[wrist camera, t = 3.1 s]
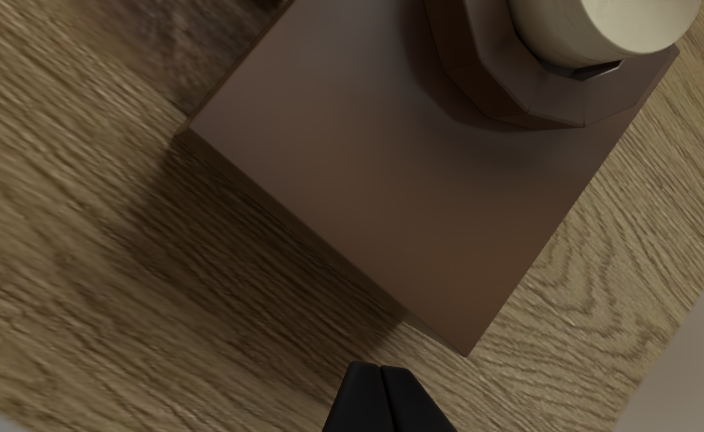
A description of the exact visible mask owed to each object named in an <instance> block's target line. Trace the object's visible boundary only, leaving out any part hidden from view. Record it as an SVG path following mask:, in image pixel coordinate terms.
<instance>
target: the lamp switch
mask: <svg viewBox="0 0 704 432" xmlns="http://www.w3.org/2000/svg"><path fill="white" fill-rule="evenodd" d="M701 2H702V0H507V3H508V8H509V11H510V15H511V19H512V22H513V24H514V26H515V28H516V31H517V32H518V34H519V36H520V37H521V39H522V40H523V42H524V43H525V44H526V46H527V47H528V48H529V49H530V50H531V51H532V52H533V53H534V54H535V55H536V56H538V57H539V58H540V59H542V60H543V61H545V62H547V63H549V64H551V65H554V66H556V67H561V68H566V69H576V68H583V67H588V66H593V65H598V64H602V63H607V62H612V61H617V60H622V59H627V58H632V57H637V56H642V55H647V54H651V53H655V52H658V51H661V50H663V49H665V48H667V47H669V46H670V45H672V44H673V43H674V42H676V41H677V40H678V39H679V38H680V37H681V36H682V35H683V34H684V33H685V32H686V31H687V29H688V28H689V27H690V25H691V24H692V22H693V20H694V19H695V17H696V15H697V12H698V10H699V8H700V5H701Z"/></svg>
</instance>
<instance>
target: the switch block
mask: <svg viewBox="0 0 704 432" xmlns="http://www.w3.org/2000/svg"><path fill="white" fill-rule="evenodd" d="M679 53H680V50H679V49H678V48H677V46H676V45H675V44H674V43H673V44H672V45H670V46H669V47H667V48H665V49H663V50H661V51H658V52H655V53H651V54H647V55H642V56H637V57H632V58H627V59H622V60H617V61H612V62H607V63H602V64H598V65H593V66H588V67H583V68H576V69H566V68H561V67H556V66H554V65H551V64H549V63H547V62H545V61H543V60H542V59H540V58H539V57H538V56H536V55H535V54H534V53H533V52H532V51H531V50H530V49H529V48H528V47H527V46H526V44H525V43H524V42H523V40H522V39H521V37H520V36H519V34H518V32H517V31H516V28H515V26H514V24H513V22H512V19H511V15H510V11H509V8H508V3H507V0H288V1H287V2H286V4H285V5H284V6H283V7H282V8H281V9H280V11H279V12H278V13H277V14H276V15H275V16H274V18H273V19H272V20H271V21H270V22H269V23H268V25H267V26H266V27H265V28H264V29H263V30H262V32H261V33H260V34H259V35H258V36H257V37H256V39H255V40H254V41H253V42H252V43H251V44H250V46H249V47H248V48H247V49H246V50H245V51H244V53H243V54H242V55H241V56H240V57H239V58H238V60H237V61H236V62H235V63H234V64H233V65H232V67H231V68H230V69H229V70H228V71H227V72H226V74H225V75H224V76H223V77H222V78H221V79H220V81H219V82H218V83H217V84H216V85H215V86H214V88H213V89H212V90H211V91H210V92H209V93H208V95H207V96H206V97H205V98H204V99H203V100H202V102H201V103H200V104H199V105H198V106H197V107H196V109H195V110H194V111H193V112H192V113H191V114H190V116H189V117H188V118H187V119H186V120H185V121H184V123H183V124H182V125H181V126H180V127H179V128H178V130H177V131H176V132H175V134H174V135H175V136H176V137H177V138H178V139H179V140H180V141H182V142H183V143H184V144H185V145H187V146H188V147H189V148H190V149H192V150H193V151H194V152H195V153H197V154H198V155H199V156H200V157H201V158H203V159H204V160H205V161H206V162H208V163H209V164H210V165H211V166H213V167H214V168H215V169H216V170H217V171H219V172H220V173H221V174H222V175H224V176H225V177H226V178H227V179H229V180H230V181H231V182H232V183H233V184H235V185H236V186H237V187H238V188H240V189H241V190H242V191H243V192H245V193H246V194H247V195H248V196H249V197H251V198H252V199H253V200H254V201H256V202H257V203H258V204H259V205H261V206H262V207H263V208H264V209H265V210H267V211H268V212H269V213H270V214H272V215H273V216H274V217H275V218H277V219H278V220H279V221H280V222H281V223H283V224H284V225H285V226H286V227H288V228H289V229H290V230H291V231H293V232H294V233H295V234H296V235H297V236H299V237H300V238H301V239H302V240H304V241H305V242H306V243H307V244H309V245H310V246H311V247H312V248H313V249H315V250H316V251H317V252H318V253H320V254H321V255H322V256H323V257H325V258H326V259H327V260H328V261H329V262H331V263H332V264H333V265H334V266H336V267H337V268H338V269H339V270H341V271H342V272H343V273H344V274H345V275H347V276H348V277H349V278H350V279H352V280H353V281H354V282H355V283H357V284H358V285H359V286H360V287H361V288H363V289H364V290H365V291H366V292H368V293H369V294H370V295H371V296H373V297H374V298H375V299H376V300H377V301H379V302H380V303H381V304H382V305H384V306H385V307H386V308H387V309H389V310H390V311H391V312H392V313H394V314H395V315H396V316H397V317H398V318H400V319H401V320H402V321H404V322H405V323H407V324H409V325H410V326H412V327H414V328H415V329H417V330H419V331H421V332H422V333H424V334H426V335H427V336H429V337H431V338H432V339H434V340H436V341H437V342H439V343H441V344H442V345H444V346H446V347H447V348H449V349H451V350H452V351H454V352H456V353H458V354H459V355H461V356H463V357H465V358H466V357H468V355H469V354H470V352H471V351H472V349H473V348H474V347H475V345H476V344H477V342H478V341H479V339H480V338H481V337H482V335H483V334H484V332H485V331H486V329H487V328H488V327H489V325H490V324H491V322H492V321H493V319H494V318H495V317H496V315H497V314H498V312H499V311H500V309H501V308H502V306H503V305H504V304H505V302H506V301H507V299H508V298H509V296H510V295H511V294H512V292H513V291H514V289H515V288H516V286H517V285H518V284H519V282H520V281H521V279H522V278H523V276H524V275H525V274H526V272H527V271H528V269H529V268H530V266H531V265H532V264H533V262H534V261H535V259H536V258H537V256H538V255H539V254H540V252H541V251H542V249H543V248H544V246H545V245H546V243H547V242H548V241H549V239H550V238H551V236H552V235H553V233H554V232H555V231H556V229H557V228H558V226H559V225H560V223H561V222H562V221H563V219H564V218H565V216H566V215H567V213H568V212H569V211H570V209H571V208H572V206H573V205H574V203H575V202H576V201H577V199H578V198H579V196H580V195H581V193H582V192H583V191H584V189H585V188H586V186H587V185H588V183H589V182H590V180H591V179H592V178H593V176H594V175H595V173H596V172H597V170H598V169H599V168H600V166H601V165H602V163H603V162H604V160H605V159H606V158H607V156H608V155H609V153H610V152H611V150H612V149H613V148H614V146H615V145H616V143H617V142H618V140H619V139H620V138H621V136H622V135H623V133H624V132H625V130H626V129H627V128H628V126H629V125H630V123H631V122H632V120H633V119H634V117H635V116H636V115H637V113H638V112H639V110H640V109H641V107H642V106H643V105H644V103H645V102H646V100H647V99H648V97H649V96H650V95H651V93H652V92H653V90H654V89H655V87H656V86H657V85H658V83H659V82H660V80H661V79H662V77H663V76H664V75H665V73H666V72H667V70H668V69H669V67H670V66H671V65H672V63H673V62H674V60H675V59H676V57H677V56H678V54H679Z"/></svg>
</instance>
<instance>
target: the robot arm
mask: <svg viewBox="0 0 704 432" xmlns="http://www.w3.org/2000/svg"><path fill="white" fill-rule="evenodd" d="M322 432H457V430H456V429H455V428H454V426H453V425H452V424H451V423H450V421H449V420H448V419H447V417H446V416H445V415H444V414H443V412H442V411H441V410H440V408H439V407H438V406H437V405H436V403H435V402H434V401H433V399H432V398H431V397H430V396H429V394H428V393H427V392H426V391H425V389H424V388H423V387H422V385H421V384H420V383H419V382H418V380H417V379H416V378H415V376H414V375H413V374H412V373H411V372H410V371H409V370H408V369H405V368H400V367H393V366H386V365H383V366H381V367H380V368H379V366H377V365H376V364H373V363H366V362H360V361H352V362H350V364H349V366H348V368H347V371H346V373H345V376H344V378H343V380H342V383H341V385H340V388H339V390H338V393H337V395H336V398H335V400H334V403H333V405H332V407H331V410H330V412H329V415H328V417H327V420H326V422H325V425H324V427H323V430H322Z"/></svg>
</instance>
